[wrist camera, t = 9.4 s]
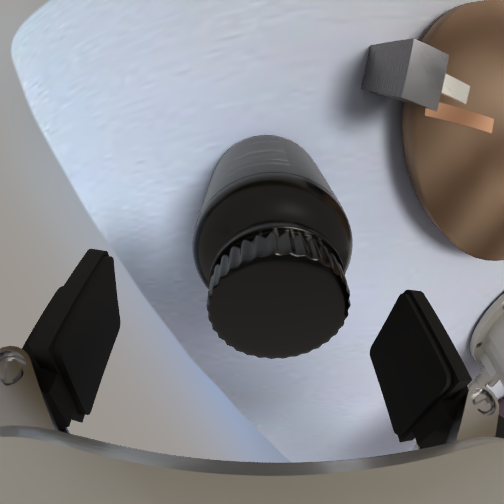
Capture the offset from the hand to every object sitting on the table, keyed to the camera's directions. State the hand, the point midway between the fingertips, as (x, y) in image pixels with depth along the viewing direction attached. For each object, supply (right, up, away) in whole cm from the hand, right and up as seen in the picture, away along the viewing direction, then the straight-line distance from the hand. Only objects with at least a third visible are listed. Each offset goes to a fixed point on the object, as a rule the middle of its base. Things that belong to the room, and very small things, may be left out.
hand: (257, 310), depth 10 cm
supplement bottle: (+1, +6, +11) cm, 12 cm away
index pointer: (+8, +13, +6) cm, 16 cm away
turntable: (+19, +11, +7) cm, 23 cm away
